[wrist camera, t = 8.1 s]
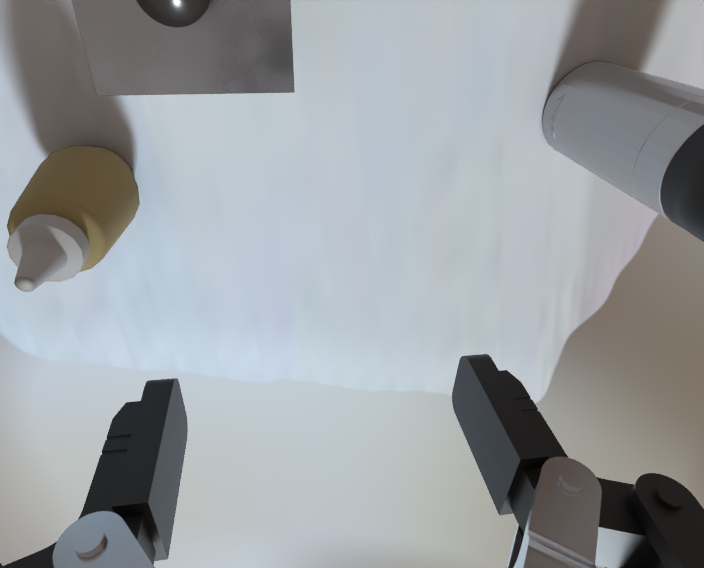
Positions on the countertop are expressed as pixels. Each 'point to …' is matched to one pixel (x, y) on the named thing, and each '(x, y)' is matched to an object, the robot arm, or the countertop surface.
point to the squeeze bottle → (70, 214)
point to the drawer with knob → (187, 46)
